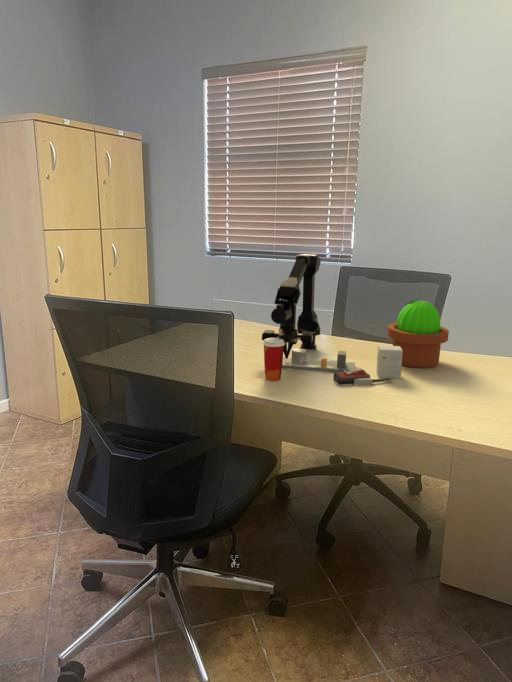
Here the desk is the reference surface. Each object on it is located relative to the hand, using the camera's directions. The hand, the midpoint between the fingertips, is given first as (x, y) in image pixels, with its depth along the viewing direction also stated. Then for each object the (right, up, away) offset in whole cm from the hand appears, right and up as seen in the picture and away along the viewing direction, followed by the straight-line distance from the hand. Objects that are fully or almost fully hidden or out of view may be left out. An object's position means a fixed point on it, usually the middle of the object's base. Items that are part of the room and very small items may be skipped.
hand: (286, 358), depth 199 cm
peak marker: (+13, -3, -6) cm, 15 cm away
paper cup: (-6, -7, -15) cm, 17 cm away
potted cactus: (+51, -2, +7) cm, 51 cm away
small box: (+36, -6, -10) cm, 38 cm away
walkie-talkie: (+25, -8, -16) cm, 31 cm away
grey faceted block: (+4, -2, -2) cm, 5 cm away
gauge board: (+10, -3, -1) cm, 11 cm away
